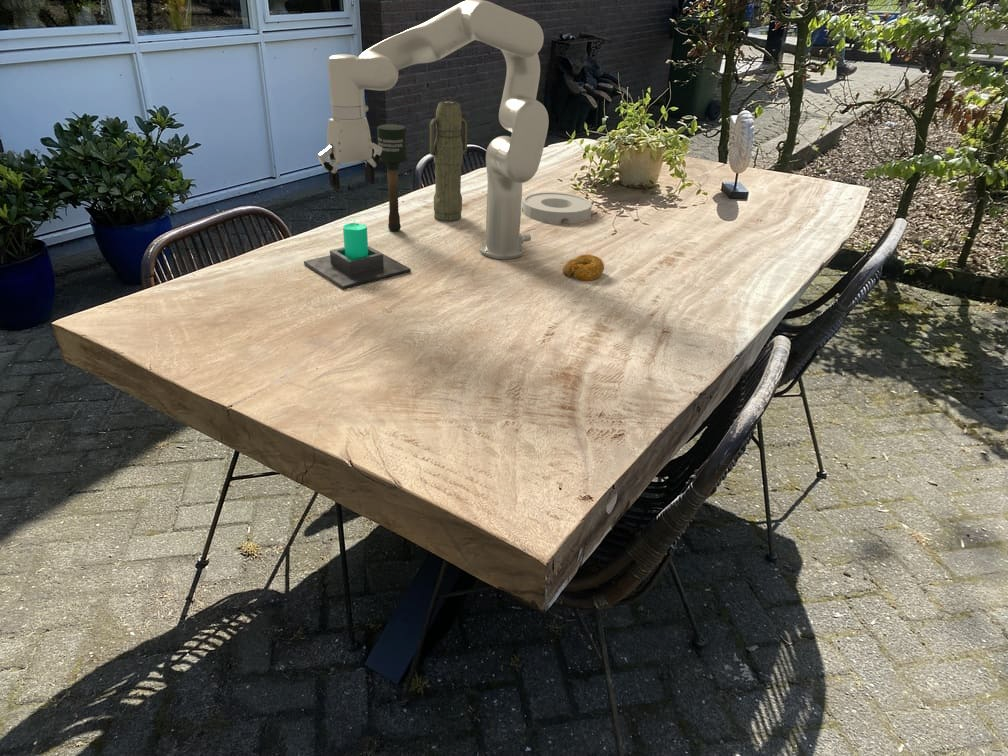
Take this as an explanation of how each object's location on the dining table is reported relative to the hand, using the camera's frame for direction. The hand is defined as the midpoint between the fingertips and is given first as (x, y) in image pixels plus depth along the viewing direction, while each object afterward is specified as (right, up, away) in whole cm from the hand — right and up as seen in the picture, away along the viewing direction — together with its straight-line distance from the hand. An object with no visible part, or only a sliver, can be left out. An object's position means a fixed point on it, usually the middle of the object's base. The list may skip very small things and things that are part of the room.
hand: (352, 185), depth 174 cm
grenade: (+4, -3, +38) cm, 39 cm away
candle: (-1, -18, +11) cm, 21 cm away
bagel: (+59, -20, +16) cm, 64 cm away
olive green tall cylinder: (+19, +4, +51) cm, 55 cm away
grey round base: (+55, +7, +62) cm, 83 cm away
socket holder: (-1, -19, +11) cm, 22 cm away
